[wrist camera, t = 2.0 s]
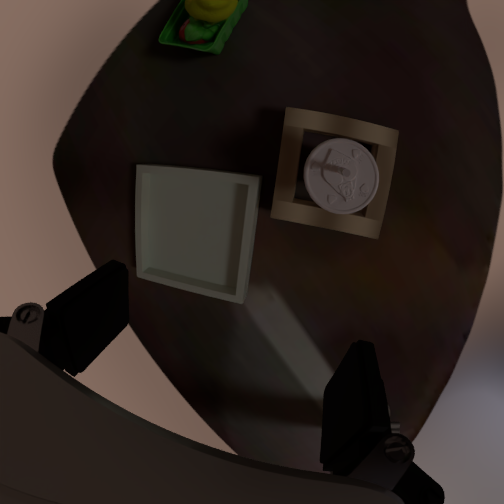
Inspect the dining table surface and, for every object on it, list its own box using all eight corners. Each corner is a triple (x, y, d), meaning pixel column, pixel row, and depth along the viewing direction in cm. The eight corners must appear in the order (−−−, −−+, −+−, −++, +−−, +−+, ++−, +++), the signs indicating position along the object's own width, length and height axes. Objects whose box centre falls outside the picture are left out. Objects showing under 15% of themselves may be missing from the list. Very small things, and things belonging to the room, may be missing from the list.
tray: (262, 175, 31) (258, 177, 29) (246, 294, 37) (242, 304, 35) (147, 163, 34) (136, 164, 31) (145, 270, 40) (137, 276, 37)
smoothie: (349, 136, 28) (376, 121, 15) (367, 188, 29) (405, 213, 16) (297, 154, 30) (286, 150, 17) (317, 205, 31) (319, 240, 18)
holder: (389, 133, 26) (398, 130, 23) (371, 230, 31) (377, 239, 27) (288, 112, 28) (285, 106, 25) (274, 211, 32) (270, 217, 29)
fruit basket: (211, -9, 23) (176, -49, 13) (269, 1, 23) (250, -48, 12) (175, 54, 28) (125, 26, 17) (232, 68, 27) (196, 33, 17)
